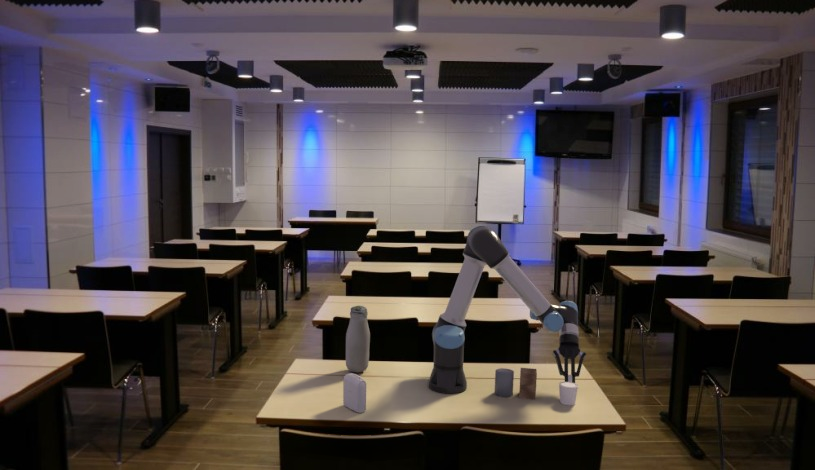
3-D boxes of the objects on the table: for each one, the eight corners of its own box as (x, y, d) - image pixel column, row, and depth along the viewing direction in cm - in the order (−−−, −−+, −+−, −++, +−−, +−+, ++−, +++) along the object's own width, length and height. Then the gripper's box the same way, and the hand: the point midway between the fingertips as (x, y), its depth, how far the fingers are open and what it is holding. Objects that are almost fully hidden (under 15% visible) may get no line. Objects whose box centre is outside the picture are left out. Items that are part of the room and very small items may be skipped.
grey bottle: (344, 375, 263) (345, 308, 260) (346, 367, 273) (347, 303, 270) (368, 375, 263) (369, 309, 260) (369, 367, 273) (371, 303, 270)
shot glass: (556, 403, 238) (557, 385, 237) (560, 397, 244) (561, 380, 244) (574, 407, 235) (575, 388, 234) (578, 401, 241) (579, 383, 241)
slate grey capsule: (494, 396, 244) (495, 373, 243) (494, 389, 251) (495, 367, 250) (512, 397, 243) (513, 375, 242) (512, 391, 250) (513, 369, 249)
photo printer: (341, 405, 231) (341, 372, 230) (351, 402, 234) (351, 369, 232) (357, 414, 223) (358, 380, 222) (367, 411, 226) (368, 377, 224)
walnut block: (519, 398, 243) (520, 372, 242) (519, 392, 249) (520, 367, 248) (535, 399, 242) (536, 373, 241) (535, 393, 248) (536, 368, 247)
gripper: (584, 343, 259) (586, 397, 245) (551, 340, 261) (551, 394, 247) (586, 333, 253) (589, 389, 239) (553, 331, 255) (553, 386, 241)
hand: (570, 392), depth 243 cm, fingers closed
